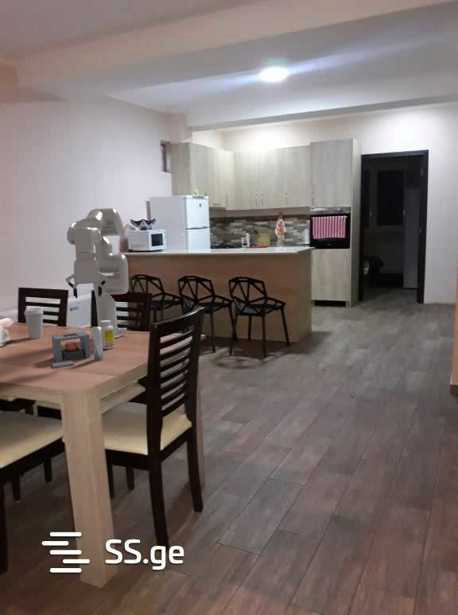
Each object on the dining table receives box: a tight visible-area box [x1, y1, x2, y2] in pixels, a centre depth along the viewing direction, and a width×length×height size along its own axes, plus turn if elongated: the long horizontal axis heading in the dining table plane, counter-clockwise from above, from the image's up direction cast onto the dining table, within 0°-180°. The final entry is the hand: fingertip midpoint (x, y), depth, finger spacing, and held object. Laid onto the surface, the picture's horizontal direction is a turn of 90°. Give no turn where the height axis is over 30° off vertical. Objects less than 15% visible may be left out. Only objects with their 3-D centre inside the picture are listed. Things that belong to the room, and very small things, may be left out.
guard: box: [51, 330, 92, 362], centre depth 219 cm, size 14×9×10 cm, turn 119°
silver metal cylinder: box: [91, 325, 104, 362], centre depth 214 cm, size 4×4×14 cm
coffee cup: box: [23, 307, 44, 340], centre depth 262 cm, size 10×10×15 cm
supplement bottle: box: [100, 320, 115, 350], centre depth 234 cm, size 7×7×13 cm
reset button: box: [64, 341, 78, 351], centre depth 219 cm, size 5×5×3 cm
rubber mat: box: [50, 360, 75, 369], centre depth 208 cm, size 8×6×1 cm
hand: (88, 297), depth 214 cm, fingers open, 9 cm apart
